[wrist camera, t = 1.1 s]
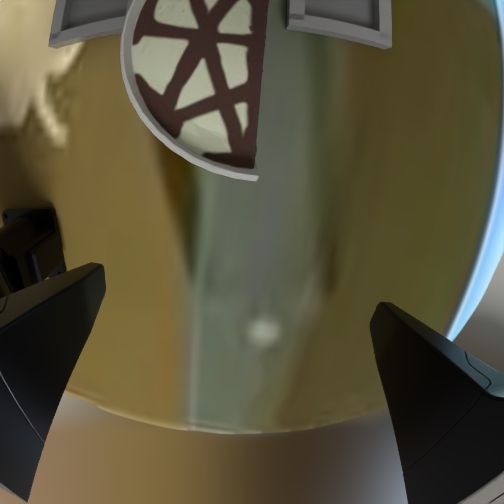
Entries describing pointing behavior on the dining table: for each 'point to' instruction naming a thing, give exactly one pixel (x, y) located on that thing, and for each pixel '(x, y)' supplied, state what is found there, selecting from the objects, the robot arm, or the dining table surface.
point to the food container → (198, 77)
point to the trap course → (298, 19)
